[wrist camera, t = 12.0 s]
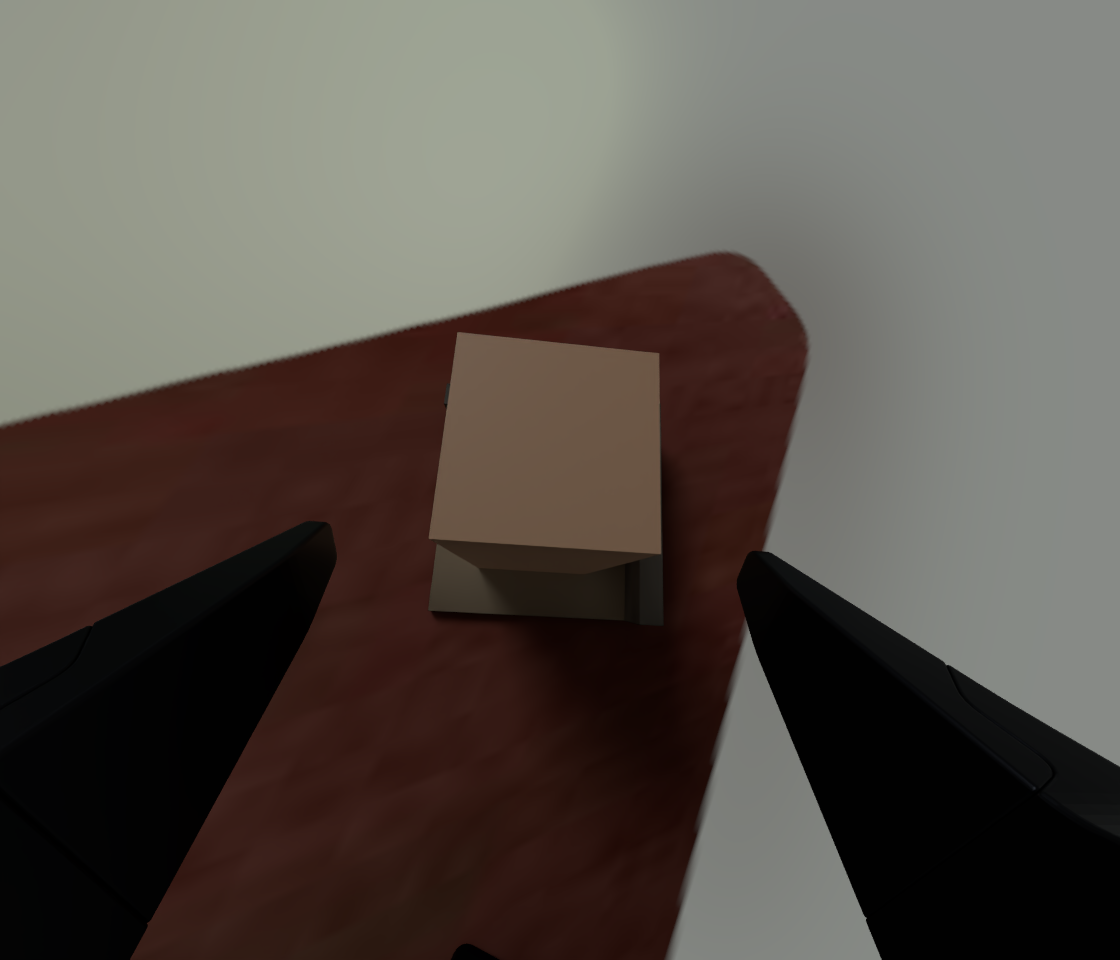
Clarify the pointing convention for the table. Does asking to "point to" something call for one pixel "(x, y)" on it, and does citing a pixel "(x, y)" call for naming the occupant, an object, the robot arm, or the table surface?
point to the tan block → (549, 456)
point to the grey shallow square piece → (551, 588)
